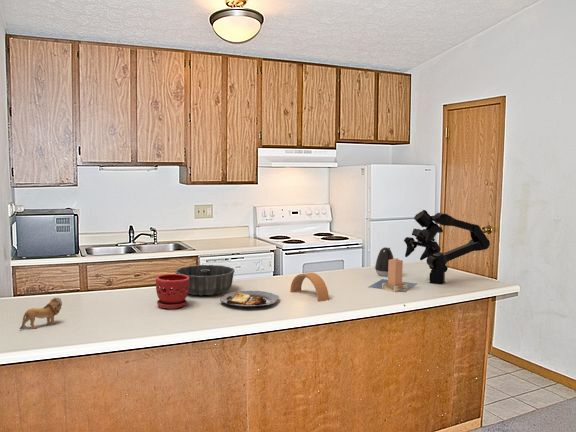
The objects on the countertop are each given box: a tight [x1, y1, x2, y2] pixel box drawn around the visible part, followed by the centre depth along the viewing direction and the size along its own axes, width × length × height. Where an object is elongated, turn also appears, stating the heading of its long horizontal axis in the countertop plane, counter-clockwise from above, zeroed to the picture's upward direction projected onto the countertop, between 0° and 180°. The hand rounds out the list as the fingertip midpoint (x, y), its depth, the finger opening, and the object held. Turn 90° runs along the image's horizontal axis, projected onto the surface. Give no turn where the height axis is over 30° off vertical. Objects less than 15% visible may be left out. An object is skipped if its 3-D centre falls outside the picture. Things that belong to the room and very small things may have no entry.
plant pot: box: [155, 273, 189, 310], centre depth 200 cm, size 13×13×12 cm
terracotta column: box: [387, 257, 404, 287], centre depth 228 cm, size 4×4×14 cm
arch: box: [289, 272, 330, 303], centre depth 218 cm, size 6×20×10 cm, turn 36°
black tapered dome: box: [374, 246, 394, 278], centre depth 259 cm, size 10×10×15 cm
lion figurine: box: [19, 297, 63, 330], centre depth 173 cm, size 15×5×9 cm, turn 141°
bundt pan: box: [174, 264, 236, 297], centre depth 223 cm, size 26×26×10 cm
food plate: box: [219, 290, 280, 308], centre depth 207 cm, size 25×23×4 cm
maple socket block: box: [381, 283, 408, 293], centre depth 229 cm, size 8×8×2 cm
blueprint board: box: [368, 278, 418, 293], centre depth 237 cm, size 18×20×1 cm
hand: (412, 258), depth 237 cm, fingers open, 9 cm apart
